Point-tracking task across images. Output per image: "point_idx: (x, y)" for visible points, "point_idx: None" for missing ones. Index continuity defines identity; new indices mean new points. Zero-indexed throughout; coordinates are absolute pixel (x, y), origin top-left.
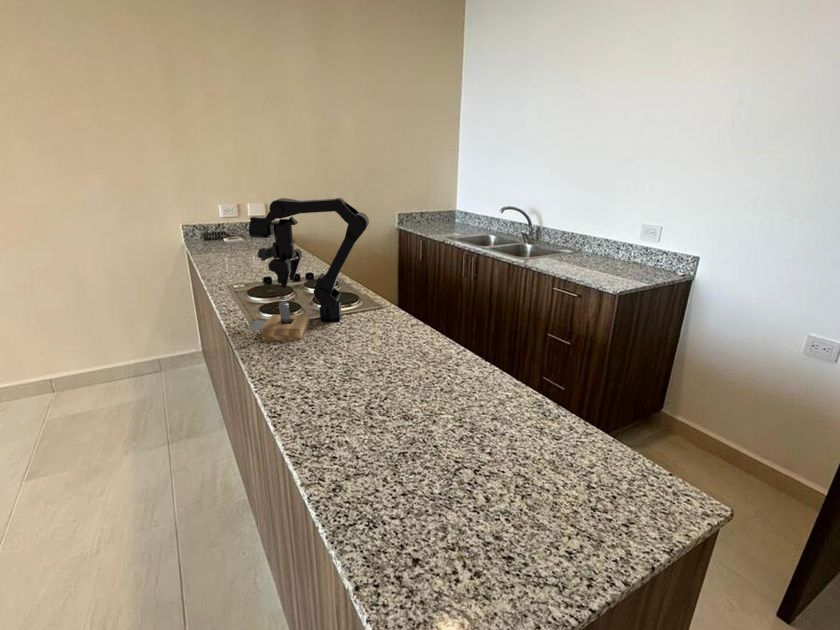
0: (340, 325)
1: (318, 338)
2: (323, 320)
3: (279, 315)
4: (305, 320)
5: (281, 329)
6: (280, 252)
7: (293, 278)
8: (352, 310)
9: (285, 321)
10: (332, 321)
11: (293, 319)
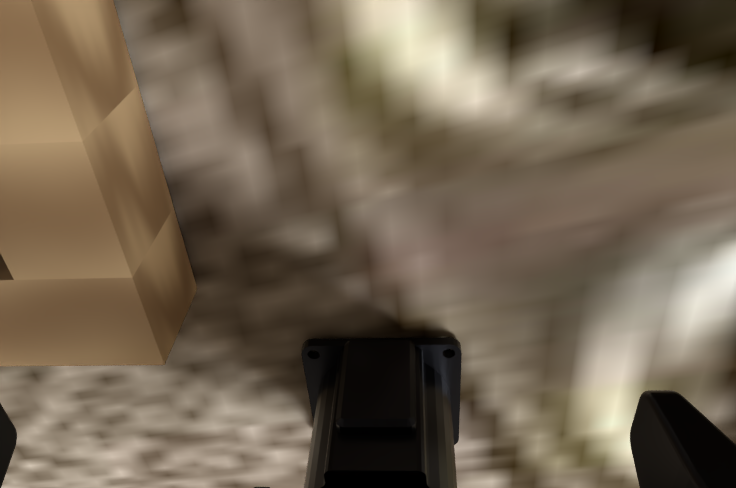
0: (273, 443)
1: (15, 372)
2: (314, 362)
3: (36, 93)
4: (23, 365)
5: None
6: None
7: (640, 485)
8: (579, 470)
9: None
10: (312, 410)
11: (10, 265)
